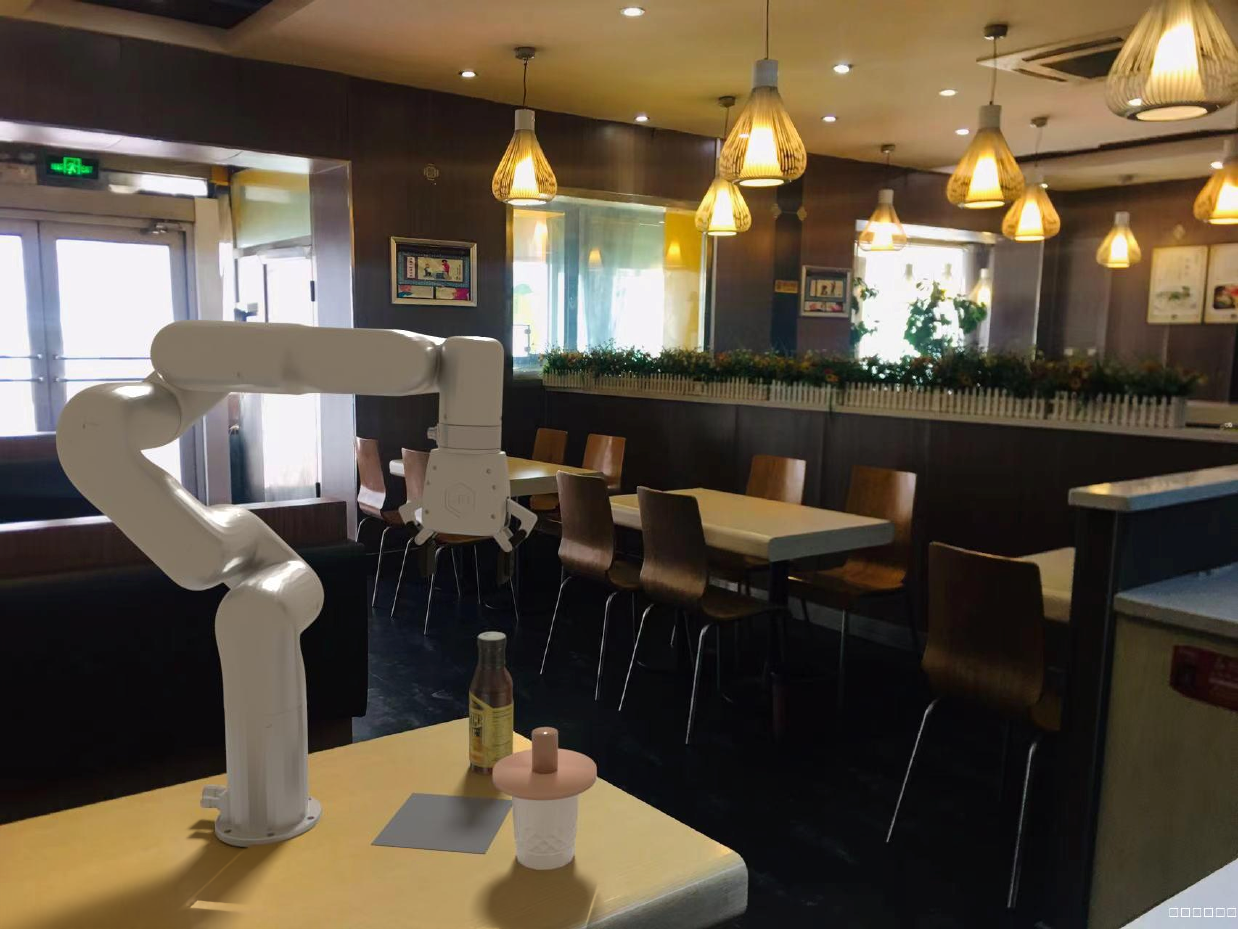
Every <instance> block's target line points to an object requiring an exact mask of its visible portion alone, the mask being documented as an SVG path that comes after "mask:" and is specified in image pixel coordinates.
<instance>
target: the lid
mask: <svg viewBox="0 0 1238 929" xmlns="http://www.w3.org/2000/svg"><path fill="white" fill-rule="evenodd" d="M597 773H598V771H597V764H596V763H595V762H594V760H593V759H592V758H590V757H589V756H587V755H585V754H584V753H581V752H577V751H574V750H571V749H570V750H569V749H564V748H559V731H558V729H556V728H555V727H551V726H550V727H549V726H543V727H537V728H535V729H533V730H532V731H531V749H525V750H521V751H517V752H513V754H511V755H508V756H506V757H504V758H502V759H501V760H499V761H498V762H497V763H496V764H495V766H494V768H493V774H492V783H493V786H494V787H495V788H496V789H497V790H498V791H500V792H501V793H503V794H505V795H507V796H510V797H512V796H513V797H516V798H521V799H527V800H556V799H563V798H568V797H571V796H575V795H578V794H579V795H580V794H582V793H584V792H586V791H588V790H590V788H592V787H593V786H594V785H595V783H596V781H597V778H598V776H597V775H598V774H597Z"/></svg>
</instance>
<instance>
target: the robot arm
mask: <svg viewBox="0 0 1238 929" xmlns="http://www.w3.org/2000/svg"><path fill="white" fill-rule="evenodd" d="M504 353H505V351H504V346H503V344H502V343H501V342H500V341H499V340H498V339H495V338H491V337H481V336H468V335H467V336H465V335H464V336H463V335H461V336H460V335H458V336H457V335H455V336H449V337H447V338H444V337H437V336H432V335H428V334H427V335H426V334H422V333H417V332H413V331H409V330H402V329H388V328H386V329H384V328H358V327H356V328H355V327H353V328H352V327H330V326H327V327H326V326H325V327H324V326H310V325H305V324H302V323H290V322H267V321H265V322H264V321H263V322H261V321H260V322H258V321H242V320H241V321H240V320H239V321H238V320H237V321H236V320H233V321H232V320H216V319H215V320H211V319H210V320H209V319H207V320H206V319H183V320H179V321H178V320H177V321H174V322H171V323H169V324H167V325H165V326H164V327H162V328H161V329H160V330H159V331H157V333H156V334H155V336H154V337H153V340H152V342H151V344H150V350H149V354H150V361H151V365H152V367H153V369H154V370H153V371H152V372H151V373H150V374H149V375H147V376H146V377H145V378H144V379H143V380H142V381H132V382H126V381H125V382H123V381H121V382H106V383H100V384H96V385H92V386H89V387H86V388H84V389H82V390H80V391H78V392H77V393H76V394H74V395H73V396H72V397H71V398H70V399H69V400H68V401H67V402H66V404H65V405H64V407H63V408H62V410H61V413H59V414H60V415H59V417H58V421H57V425H56V431H55V443H56V444H55V445H56V452H57V455H58V460H59V462H60V466H61V467H62V469H63V471H64V473H65V475H66V477H67V479H68V480H69V481H70V482H71V483H72V485H73V486H74V487H75V488H76V490H78V492H79V493H80V494H81V495H82V496H83V497H84V498H85V499H86V500H88V502H89V503H91V504H92V505H93V506H94V507H95V508H97V509H98V510H99V511H100V512H101V513H102V514H103V515H105V517H107V519H109V520H110V521H111V522H112V524H114V525H116V526H117V528H118V529H120V531H121V532H122V533H123V534H124V535H125V536H126V537H127V538H128V539H129V540H130V541H131V542H132V543H133V544H134V545H135V546H136V547H138V549H140V550H141V551H142V552H143V554H145V555H146V556H147V557H148V558H149V559H150V560H151V561H153V563H154V564H155V565H156V566H157V567H159V569H161V571H163V572H164V574H165V575H166V576H168V578H170V579H171V580H172V581H173V582H174V583H176V584H177V585H178V586H180V587H182V588H185V589H187V590H190V591H204V590H207V589H211V588H214V587H216V586H218V585H220V584H222V583H223V584H225V585H226V586H227V587H228V588H229V591H228V592H226V594H225V595H224V596H223V598H222V600H221V602H220V603H219V605H218V608H217V610H216V611H217V612H216V615H215V621H214V628H215V629H214V631H215V632H214V633H215V639H216V645H217V649H218V654H219V658H220V666H221V673H222V684H223V686H222V688H223V708H224V725H225V727H224V728H225V730H224V731H225V751H226V752H225V755H226V786H225V785H220V784H210V783H209V784H208V783H207V784H205V786H204V787H203V789H202V791H201V800H200V807H201V808H205V809H206V808H207V809H213V808H214V809H217V810H218V811H219V815H218V816H217V817H216V819H215V822H214V834H215V836H216V837H217V838H218V840H220V841H222V842H223V843H226V844H228V845H231V846H235V847H241V848H242V847H243V848H249V847H250V846H253V845H254V846H257V845H265V844H266V845H269V844H273V843H279V842H282V841H286V840H289V839H292V838H295V837H298V836H300V835H302V834H304V833H306V832H307V831H310V830H311V829H312V828H314V827H315V826H316V825H317V824H318V823H319V822H320V820H321V819H322V817H323V806H322V804H321V803H320V802H319V800H317V799H316V798H314V797H312V796H310V793H309V792H310V789H309V788H310V784H309V782H310V781H309V780H310V779H309V751H308V750H309V749H308V747H309V746H308V745H309V744H308V741H309V740H308V709H307V706H308V705H307V704H308V702H307V700H308V699H307V683H306V670H305V669H306V668H305V664H304V658H303V655H302V650H301V643H300V642H301V640H300V638H301V634H302V633H303V632H304V630H306V629H307V628H308V627H310V625H311V624H312V623H313V622H314V621H315V620H316V619H317V618H318V616H319V615H320V612H321V611H322V609H323V606H324V605H323V604H324V601H325V599H324V598H325V593H324V588H323V585H322V582H321V579H320V577H318V575H317V573H316V572H315V570H314V569H313V568H312V567H311V566H310V564H308V563H307V562H306V561H305V560H304V559H303V558H302V557H301V556H300V555H299V554H298V553H297V552H296V551H295V550H294V549H293V548H292V547H290V546H289V544H287V543H286V541H284V540H283V539H282V538H281V537H280V536H279V535H278V534H277V533H276V532H275V531H274V530H273V529H272V528H271V527H270V526H269V525H267V523H265V521H264V520H263V519H261V518H260V517H259V516H257V515H256V514H255V513H253V512H251V511H250V510H248V509H247V508H245V507H242V506H239V505H235V504H231V503H217V504H213V505H209V506H206V505H205V504H204V503H203V502H201V501H200V500H199V499H197V498H196V497H195V496H194V494H193V495H192V493H191V492H189V491H188V489H186V488H185V487H184V486H183V485H182V484H181V483H180V481H179V480H178V479H176V478H175V477H174V476H173V475H172V474H171V473H169V472H168V471H167V470H165V469H163V468H162V467H160V466H159V465H157V464H156V463H155V462H153V461H152V460H150V459H149V458H148V457H146V456H145V454H143V452H142V451H144V450H151V449H152V450H153V449H156V448H161V447H164V446H166V445H169V444H171V443H172V442H174V441H176V440H177V439H179V438H180V437H182V436H183V435H184V434H185V433H187V432H188V431H189V430H190V429H192V427H193V426H195V425H196V424H197V423H198V422H199V421H201V419H203V418H204V417H205V416H206V415H207V414H208V413H209V412H211V411H212V409H214V408H215V407H216V406H217V405H218V404H219V403H221V402H222V401H223V400H224V399H225V398H226V397H228V395H229V394H231V393H243V394H244V393H246V394H247V393H248V394H265V395H266V394H269V395H270V394H271V395H293V396H301V395H307V394H330V395H331V394H336V395H339V394H340V395H357V396H358V395H359V396H361V395H362V396H386V397H403V396H410V395H411V396H415V395H422V394H433V393H439V404H438V406H439V408H438V409H439V410H438V423H437V424H436V426H435V427H428V429H427V432H426V435H427V439H432V440H434V441H436V446H437V448H433V449H430V452H429V457H428V461H427V466H426V471H425V476H424V477H425V478H424V486H423V492H422V495H421V496H420V497H418V498H415V499H413V500H411V501H409V502H407V503H404V504H403V505H401V506H399V508H398V512H399V515H400V517H401V519H402V521H403V523H404V528H405V529H406V531H407V532H408V533H409V534H410V535H411V537H413V538H414V542H415V544H416V545H418V554H417V556H418V557H417V559H418V562H417V567H418V569H420V577H421V578H427V577H429V576H431V575H433V574H435V573H436V570H437V569H436V566H437V563H436V562H437V542H436V541H435V540H434V538H435V536H436V535H437V534H438V533H440V534H454V535H465V536H479V537H481V536H482V537H490V536H492V537H493V538H494V539H495V541H496V542H497V543H498V545H499V546H500V550H499V551H498V552H497V564H496V565H497V566H496V583H498V584H499V585H503V584H505V583H507V582H508V581H509V580H510V577H512V576H513V575H514V569H515V568H514V567H515V549H516V548H517V547H518V546H519V545H520V544H522V543H523V541H524V540H526V539H527V538H528V537H529V535H530V533H531V531H532V530H533V528H534V526H535V524H536V523H537V521H538V515H537V514H536V513H534V512H532V511H531V510H529V509H527V508H526V507H524V506H522V505H520V504H519V503H517V502H515V501H514V500H513V499H511V498H512V497H511V483H510V472H509V465H508V459H507V454H506V452H505V451H502V448H501V447H502V422H503V421H502V419H503V417H502V416H503V415H502V414H503V393H504V392H503V390H504V364H505V363H504V361H505V360H504V358H505V354H504ZM420 509H421V522H419V520H417V516H416V514H415V512H416V511H418V510H420ZM511 515H512V516H514V517H515V518H517V519H518V520H520V522H521V524H520V526H519V528H518V529H517V531H516V532H515V533H514V534H513V533H512V531H511V530H510V528H509V526H510V524H511Z"/></svg>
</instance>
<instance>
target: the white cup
mask: <svg viewBox="0 0 1238 929" xmlns="http://www.w3.org/2000/svg"><path fill="white" fill-rule="evenodd" d="M579 795H580V794H578V795H575V796H571V797H568V798H563V799H556V800H527V799H521V798H516V797H513V796H511V800H512V807H511V808H512V818H513V819H512V820H513V831H514V832H513V833H514V834H513V835H514V836H513V837H514V841H515V855H516V856H515V857H516V858H517V859H516V860H517V862H518V863H519V864H520V865H522V866H524V867H525V868H529V869H533V870H536V871H537V870H540V871H541V870H546V871H547V870H553V869H559V868H562V867H564V866H566V865H568V864H569V863H571V862H572V861H573V859H574V857H575V853H576V837H577V826H578V825H577V823H578V812H579Z"/></svg>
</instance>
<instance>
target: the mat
mask: <svg viewBox="0 0 1238 929" xmlns="http://www.w3.org/2000/svg"><path fill="white" fill-rule="evenodd" d="M511 808H513V807H512V799H503V798H488V797H476V796H475V797H473V796H463V795H462V796H460V795H450V794H449V795H448V794H434V793H433V794H432V793H422V792H421V793H420V792H412V793H411V794H410V795H409V796H408V798H407V799H406V800H405V802H404V803H403V804H402V805H401V806H400V808H399V809H398V810H397V811H396V813H395V814H394V815H393V816H392V817H391V819H390V820H389V822H388V823H387V824H386V825H385V826H384V828H382V830H381V831H380V832H379V834H378V835H377V836H376V837H375V839H374V840H373V841H372V842H371V843H370V846H380V847H392V848H394V847H395V848H404V849H405V848H406V849H407V848H408V849H418V850H419V849H420V850H428V851H430V850H431V851H440V852H442V851H443V852H452V853H453V852H455V853H466V854H467V853H468V854H478V855H480V854H481V855H486V854H487V851H488V849H490V846H491V845H492V842H493V841H494V839H495V837H496V835H497V834H498V832H499V830H500V828H501V827H502V824H503V823H504V821H505V819H506V817H507V816H508V814H509V812H510V811H511Z"/></svg>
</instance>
